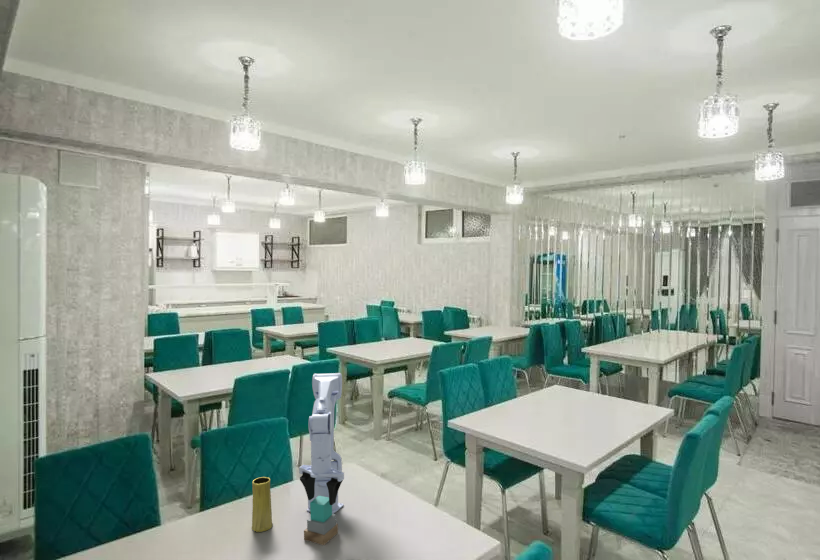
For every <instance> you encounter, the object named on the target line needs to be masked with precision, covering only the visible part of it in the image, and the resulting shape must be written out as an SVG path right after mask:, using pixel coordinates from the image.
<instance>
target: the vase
mask: <svg viewBox="0 0 820 560" xmlns="http://www.w3.org/2000/svg"><path fill="white" fill-rule="evenodd" d="M251 484H252V485H251V486H252V510H251V511H252V513H251V514H252V516H251V530H252V531H253V530H254V531H253V532H255V531H256V532H255V533H263V531H264V532H267V531H268V530H271V528H272V527H273V519H272V516H273V512H272V494H271V493H272V492H271V478H270V477H269V476H268V477H267V476H261V477H257V478H255V479H253V480H252V483H251Z"/></svg>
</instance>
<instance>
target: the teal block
mask: <svg viewBox="0 0 820 560" xmlns="http://www.w3.org/2000/svg"><path fill="white" fill-rule="evenodd" d="M331 515H332V505H330V504H329V497H324V496H318V497H316V498H315V499H314V500H313V501H312V502H310V518H311V520H315V521H319V522H325V521H326V520H327V519H328V518H329V517H330V516H331Z"/></svg>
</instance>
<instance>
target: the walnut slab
mask: <svg viewBox="0 0 820 560" xmlns="http://www.w3.org/2000/svg"><path fill="white" fill-rule="evenodd" d="M338 533H339V524H338V523H336V525H335V526H334V527H333V528H332V529H331V530H330V531H328V532H327V533H326V534H325V535H323V534H319V533H315V532H311V531H308V530H307V528H305V529H304V530H303V540H304V541H308V542H310V541H311V543H315V544H319V545H322V546H325V545H326V544H328V542H330V540H332V539H333V538H334V537H335V536H336V535H337V534H338Z"/></svg>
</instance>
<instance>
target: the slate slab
mask: <svg viewBox="0 0 820 560" xmlns="http://www.w3.org/2000/svg"><path fill="white" fill-rule="evenodd" d="M336 524H337V514H336V513H334V514H332V515H331V516H330V517H329V518H328V519H327V520H326V521H325V522H319V521H315V520H311V517H309V518H308V519H307V520H306V526H307V528H306V529H307V530H308V531H311V532H315V533H319V534H323V535H325V534H326V533H327V532H328V531H330V530H331V529H332V528H333V527H334V526H335V525H336Z"/></svg>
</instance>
